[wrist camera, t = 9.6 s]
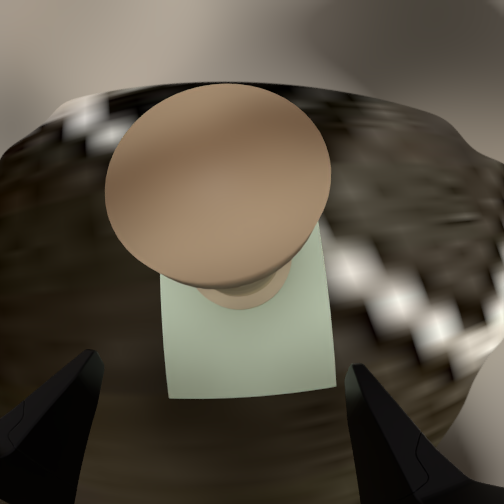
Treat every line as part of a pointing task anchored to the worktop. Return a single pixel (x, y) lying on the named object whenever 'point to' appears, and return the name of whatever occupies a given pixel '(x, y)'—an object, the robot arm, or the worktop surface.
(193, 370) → the board
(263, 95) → the tan turned knob
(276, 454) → the worktop surface
